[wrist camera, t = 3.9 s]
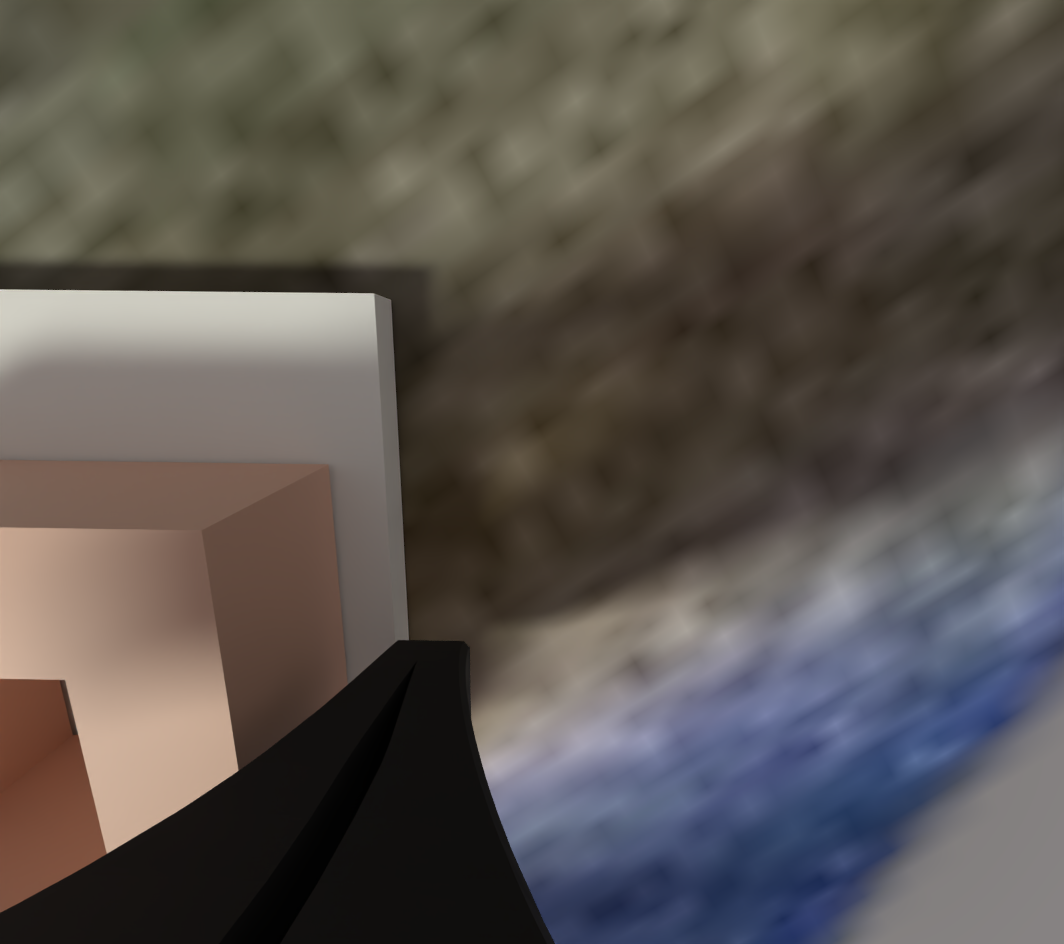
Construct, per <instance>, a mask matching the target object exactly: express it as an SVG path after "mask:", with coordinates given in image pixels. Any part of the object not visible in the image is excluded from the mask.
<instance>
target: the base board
mask: <svg viewBox="0 0 1064 944" xmlns="http://www.w3.org/2000/svg"><path fill="white" fill-rule="evenodd" d="M0 460H45V461H118V462H192V463H265V464H329V475H330V486H331V498H332V509H333V521H334V532H335V544H336V555H337V567H338V578H339V590H340V601H341V613H342V624H343V636H344V647H345V659H346V671H347V682H348V684H349V683H350V682H351V681H352V680H353V679H355V678H356V677H357V676H358V675H359V674H360V673H361V672H362V671H364V670H365V669H366V668H367V667H368V666H369V665H370V664H371V663H372V662H374V661H375V660H376V659H377V658H378V657H379V656H380V655H381V654H383V653H384V652H385V651H386V650H387V649H388V648H389V647H390V646H392V645H393V644H394V643H395V642H396V641H398V640H409V631H408V612H407V593H406V574H405V555H404V536H403V517H402V497H401V478H400V459H399V440H398V421H397V402H396V383H395V364H394V345H393V326H392V307H391V300H390V299H388V298H385V297H382V296H380V295H377V294H374V293H287V292H192V291H98V290H4V289H0ZM59 681H60V685H61V689H62V693H63V697H64V701H65V705H66V709H67V714H68V718H69V722H70V726H71V730H72V734H73V735H78V731H77V727H76V723H75V719H74V715H73V710H72V706H71V702H70V698H69V694H68V690H67V685H66V681H65V680H59Z"/></svg>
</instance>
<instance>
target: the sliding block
mask: <svg viewBox="0 0 1064 944" xmlns="http://www.w3.org/2000/svg"><path fill="white" fill-rule="evenodd" d="M59 680H65V681H66V685H67V690H68V694H69V698H70V702H71V706H72V710H73V715H74V719H75V723H76V727H77V731H78V735H73V734H72V730H71V726H70V722H69V718H68V714H67V709H66V705H65V701H64V697H63V693H62V689H61V685H60V681H59ZM347 685H348V682H347V671H346V659H345V647H344V636H343V624H342V613H341V601H340V590H339V578H338V567H337V555H336V544H335V532H334V521H333V509H332V498H331V486H330V475H329V464H265V463H192V462H118V461H45V460H0V912H2V911H4V910H6V909H8V908H10V907H12V906H14V905H16V904H18V903H20V902H21V901H23V900H25V899H27V898H29V897H31V896H33V895H34V894H36V893H38V892H40V891H42V890H44V889H45V888H47V887H49V886H51V885H53V884H55V883H56V882H58V881H60V880H62V879H64V878H66V877H67V876H69V875H71V874H73V873H75V872H76V871H78V870H80V869H82V868H83V867H85V866H87V865H89V864H90V863H92V862H94V861H95V860H97V859H99V858H100V857H102V856H104V855H106V854H107V853H109V852H111V851H112V850H114V849H116V848H117V847H119V846H121V845H122V844H124V843H126V842H127V841H129V840H131V839H132V838H134V837H136V836H137V835H139V834H141V833H142V832H144V831H146V830H147V829H149V828H151V827H152V826H154V825H156V824H157V823H159V822H161V821H162V820H164V819H166V818H167V817H169V816H171V815H172V814H174V813H176V812H177V811H179V810H180V809H182V808H184V807H185V806H187V805H188V804H190V803H191V802H193V801H194V800H196V799H197V798H199V797H200V796H202V795H203V794H205V793H206V792H208V791H209V790H211V789H212V788H214V787H215V786H217V785H218V784H220V783H221V782H223V781H224V780H226V779H227V778H229V777H230V776H232V775H233V774H235V773H236V772H237V771H239V770H240V769H242V768H243V767H244V766H246V765H247V764H249V763H250V762H251V761H253V760H254V759H256V758H257V757H258V756H260V755H261V754H262V753H264V752H265V751H266V750H268V749H269V748H270V747H272V746H273V745H274V744H275V743H277V742H278V741H279V740H280V739H282V738H283V737H284V736H286V735H287V734H288V733H289V732H291V731H292V730H293V729H294V728H296V727H297V726H298V725H300V724H301V723H302V722H303V721H305V720H306V719H307V718H308V717H310V716H311V715H312V714H314V713H315V712H316V711H317V710H319V709H320V708H321V707H322V706H323V705H325V704H326V703H327V702H328V701H329V700H330V699H332V698H333V697H334V696H335V695H336V694H337V693H339V692H340V691H341V690H342V689H343V688H344V687H345V686H347Z"/></svg>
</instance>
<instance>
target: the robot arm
mask: <svg viewBox="0 0 1064 944" xmlns="http://www.w3.org/2000/svg"><path fill="white" fill-rule="evenodd" d="M0 944H555V943H554V941H553V939H552V937H551V935H550V933H549V931H548V929H547V927H546V925H545V923H544V921H543V919H542V917H541V914H540V912H539V910H538V908H537V906H536V903H535V901H534V899H533V897H532V894H531V892H530V890H529V888H528V886H527V883H526V881H525V879H524V877H523V874H522V872H521V870H520V868H519V865H518V863H517V861H516V859H515V857H514V854H513V852H512V849H511V847H510V844H509V842H508V839H507V837H506V834H505V831H504V829H503V826H502V824H501V821H500V818H499V816H498V813H497V810H496V807H495V804H494V801H493V798H492V795H491V793H490V790H489V786H488V783H487V780H486V777H485V773H484V770H483V767H482V763H481V759H480V755H479V752H478V748H477V744H476V740H475V735H474V731H473V726H472V721H471V696H470V647H469V646H468V645H467V644H466V643H465V642H464V641H424V640H398V641H396V642H395V643H394V644H393V645H392V646H390V647H389V648H388V649H387V650H386V651H385V652H384V653H383V654H381V655H380V656H379V657H378V658H377V659H376V660H375V661H374V662H372V663H371V664H370V665H369V666H368V667H367V668H366V669H365V670H364V671H362V672H361V673H360V674H359V675H358V676H357V677H356V678H355V679H353V680H352V681H351V682H350V683H349V684H348V685H347V686H345V687H344V688H343V689H342V690H341V691H340V692H339V693H337V694H336V695H335V696H334V697H333V698H332V699H330V700H329V701H328V702H327V703H326V704H325V705H323V706H322V707H321V708H320V709H319V710H317V711H316V712H315V713H314V714H312V715H311V716H310V717H308V718H307V719H306V720H305V721H303V722H302V723H301V724H300V725H298V726H297V727H296V728H294V729H293V730H292V731H291V732H289V733H288V734H287V735H286V736H284V737H283V738H282V739H280V740H279V741H278V742H277V743H275V744H274V745H273V746H272V747H270V748H269V749H268V750H266V751H265V752H264V753H262V754H261V755H260V756H258V757H257V758H256V759H254V760H253V761H251V762H250V763H249V764H247V765H246V766H244V767H243V768H242V769H240V770H239V771H237V772H236V773H235V774H233V775H232V776H230V777H229V778H227V779H226V780H224V781H223V782H221V783H220V784H218V785H217V786H215V787H214V788H212V789H211V790H209V791H208V792H206V793H205V794H203V795H202V796H200V797H199V798H197V799H196V800H194V801H193V802H191V803H190V804H188V805H187V806H185V807H184V808H182V809H180V810H179V811H177V812H176V813H174V814H172V815H171V816H169V817H167V818H166V819H164V820H162V821H161V822H159V823H157V824H156V825H154V826H152V827H151V828H149V829H147V830H146V831H144V832H142V833H141V834H139V835H137V836H136V837H134V838H132V839H131V840H129V841H127V842H126V843H124V844H122V845H121V846H119V847H117V848H116V849H114V850H112V851H111V852H109V853H107V854H106V855H104V856H102V857H100V858H99V859H97V860H95V861H94V862H92V863H90V864H89V865H87V866H85V867H83V868H82V869H80V870H78V871H76V872H75V873H73V874H71V875H69V876H67V877H66V878H64V879H62V880H60V881H58V882H56V883H55V884H53V885H51V886H49V887H47V888H45V889H44V890H42V891H40V892H38V893H36V894H34V895H33V896H31V897H29V898H27V899H25V900H23V901H21V902H20V903H18V904H16V905H14V906H12V907H10V908H8V909H6V910H4V911H2V912H0Z"/></svg>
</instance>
